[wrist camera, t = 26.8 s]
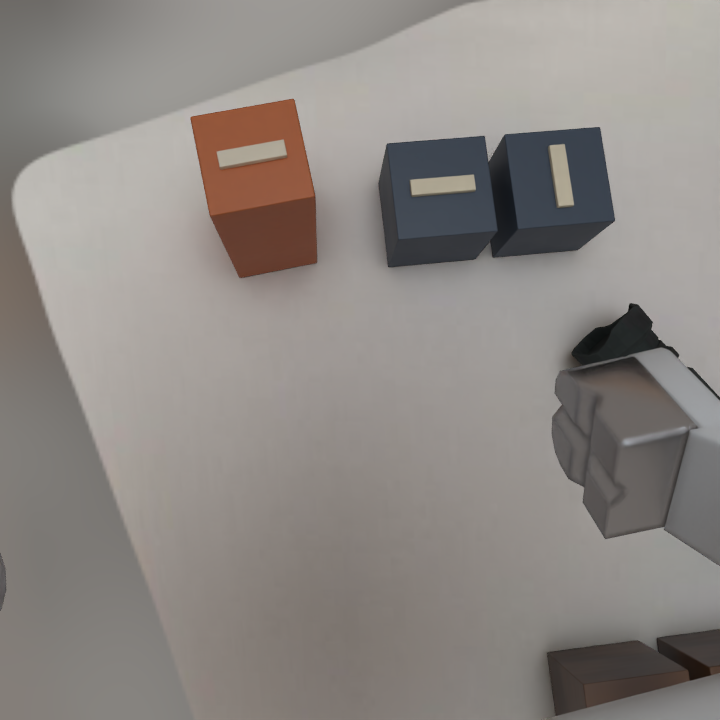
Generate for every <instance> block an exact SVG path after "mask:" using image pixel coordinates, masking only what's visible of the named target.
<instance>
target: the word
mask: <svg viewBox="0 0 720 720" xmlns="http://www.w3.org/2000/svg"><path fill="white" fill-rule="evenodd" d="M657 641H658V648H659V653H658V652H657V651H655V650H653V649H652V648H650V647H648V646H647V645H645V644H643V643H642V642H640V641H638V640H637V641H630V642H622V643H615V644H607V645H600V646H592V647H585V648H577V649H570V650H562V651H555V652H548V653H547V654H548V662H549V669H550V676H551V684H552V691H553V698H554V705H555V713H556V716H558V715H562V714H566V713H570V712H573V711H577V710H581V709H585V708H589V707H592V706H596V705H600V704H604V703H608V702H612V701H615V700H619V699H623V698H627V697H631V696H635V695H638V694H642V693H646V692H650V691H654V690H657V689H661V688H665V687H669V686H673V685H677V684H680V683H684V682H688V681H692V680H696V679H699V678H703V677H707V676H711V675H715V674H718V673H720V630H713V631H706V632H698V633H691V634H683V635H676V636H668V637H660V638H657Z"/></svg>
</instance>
